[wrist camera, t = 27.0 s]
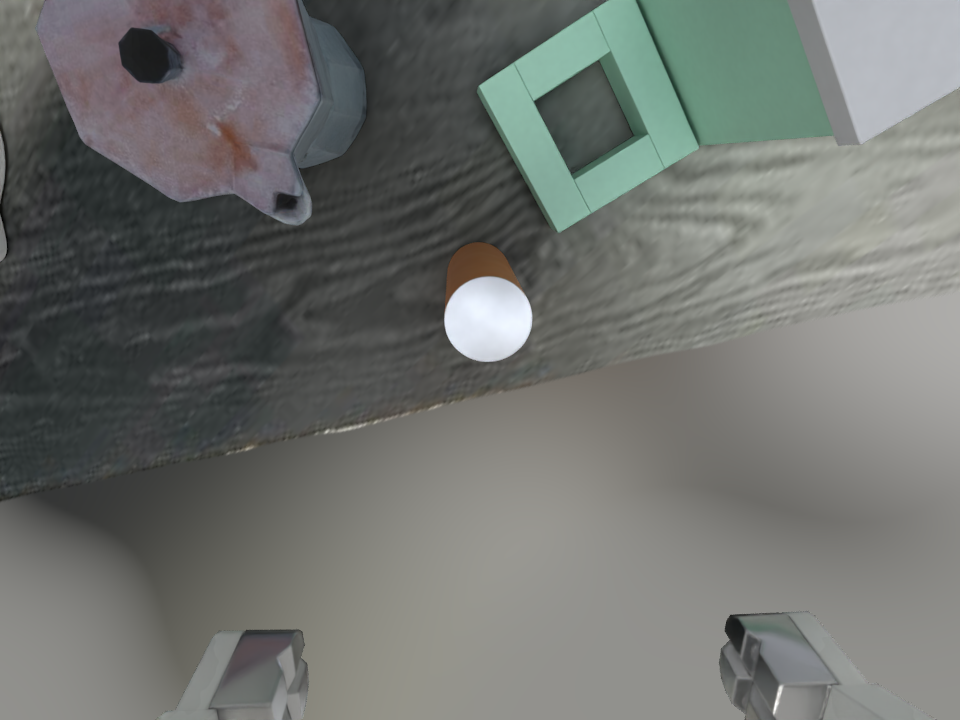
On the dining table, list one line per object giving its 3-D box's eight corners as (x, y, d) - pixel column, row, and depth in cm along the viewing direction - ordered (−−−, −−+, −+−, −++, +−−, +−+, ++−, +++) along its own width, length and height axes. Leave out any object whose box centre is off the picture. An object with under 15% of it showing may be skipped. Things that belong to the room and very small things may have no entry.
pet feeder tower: (683, 153, 37) (871, 145, 20) (613, -5, 34) (768, -171, 17) (780, 94, 36) (1062, 34, 20) (717, -74, 33) (991, -322, 16)
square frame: (550, 228, 39) (558, 233, 36) (476, 91, 36) (478, 85, 33) (681, 149, 37) (699, 148, 35) (615, 0, 34) (630, -15, 31)
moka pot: (317, 236, 38) (184, 307, 19) (144, 29, 34) (-248, -140, 15) (427, 147, 37) (398, 131, 18) (260, -82, 32) (-14, -429, 13)
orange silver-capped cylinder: (468, 314, 41) (473, 377, 29) (435, 263, 39) (427, 306, 27) (520, 283, 40) (548, 334, 28) (489, 230, 39) (504, 259, 27)
